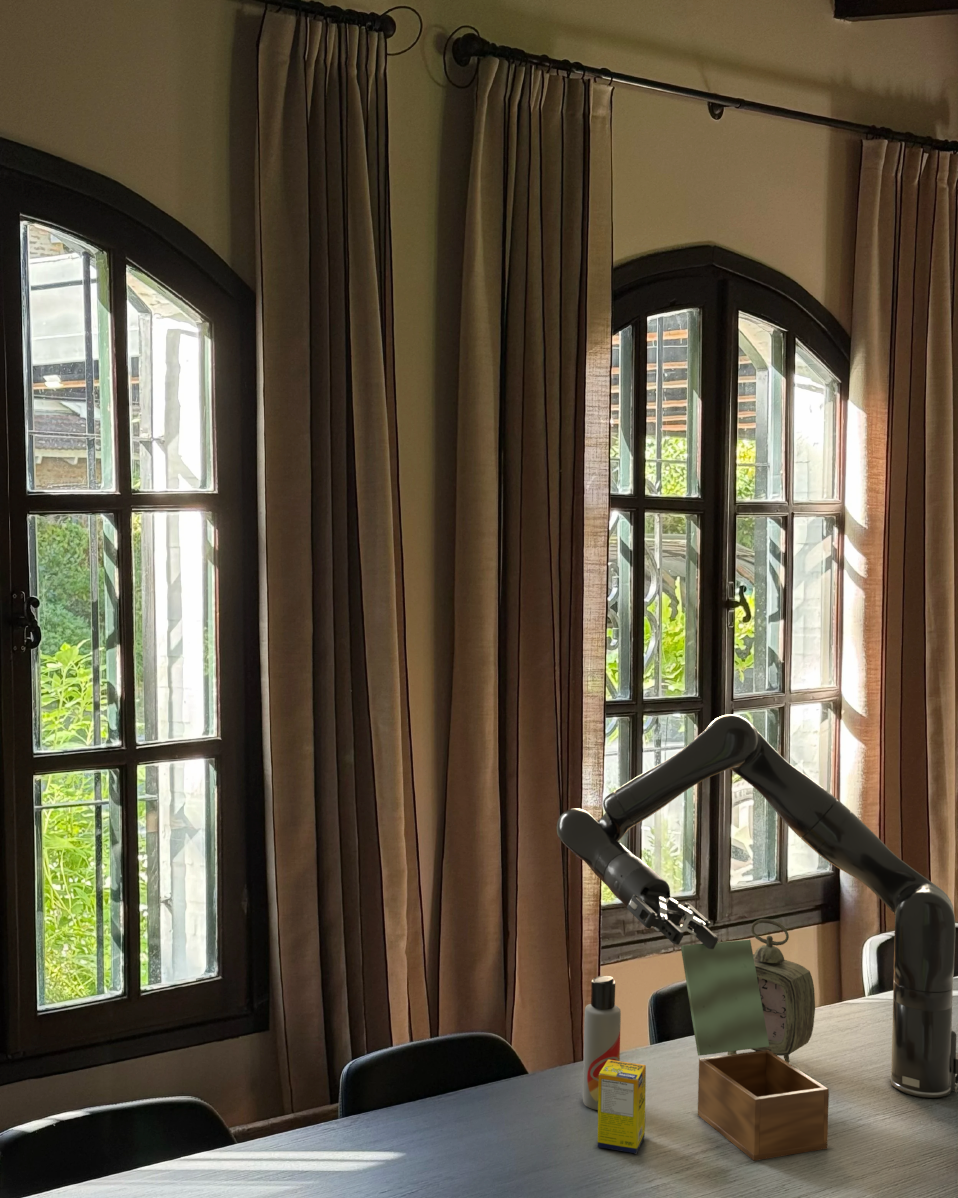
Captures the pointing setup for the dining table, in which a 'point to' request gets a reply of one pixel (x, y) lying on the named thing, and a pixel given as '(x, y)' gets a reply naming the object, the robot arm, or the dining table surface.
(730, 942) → the box lid
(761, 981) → the tabletop clock
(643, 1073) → the supplement box
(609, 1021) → the lotion bottle
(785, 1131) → the box
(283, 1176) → the dining table surface
